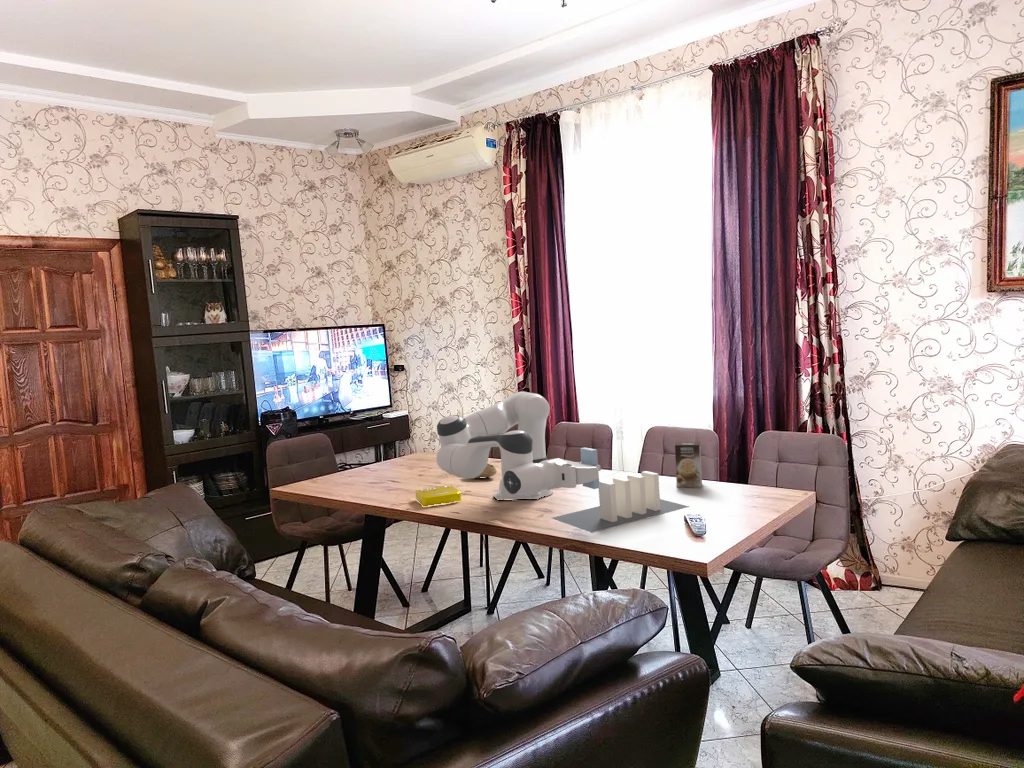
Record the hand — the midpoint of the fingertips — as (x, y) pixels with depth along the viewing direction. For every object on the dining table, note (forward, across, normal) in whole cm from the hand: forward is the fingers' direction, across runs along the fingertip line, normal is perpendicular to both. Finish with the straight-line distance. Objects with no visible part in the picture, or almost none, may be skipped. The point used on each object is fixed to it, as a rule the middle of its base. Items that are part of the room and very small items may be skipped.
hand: (592, 465), depth 217 cm
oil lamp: (+8, -91, -20) cm, 93 cm away
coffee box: (+56, -16, -19) cm, 62 cm away
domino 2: (+11, 0, -18) cm, 21 cm away
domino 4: (+23, 0, -18) cm, 29 cm away
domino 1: (+5, 0, -18) cm, 19 cm away
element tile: (-23, -69, -20) cm, 75 cm away
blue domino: (-1, 0, -6) cm, 7 cm away
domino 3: (+17, 0, -18) cm, 25 cm away
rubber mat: (+13, -4, -19) cm, 24 cm away
